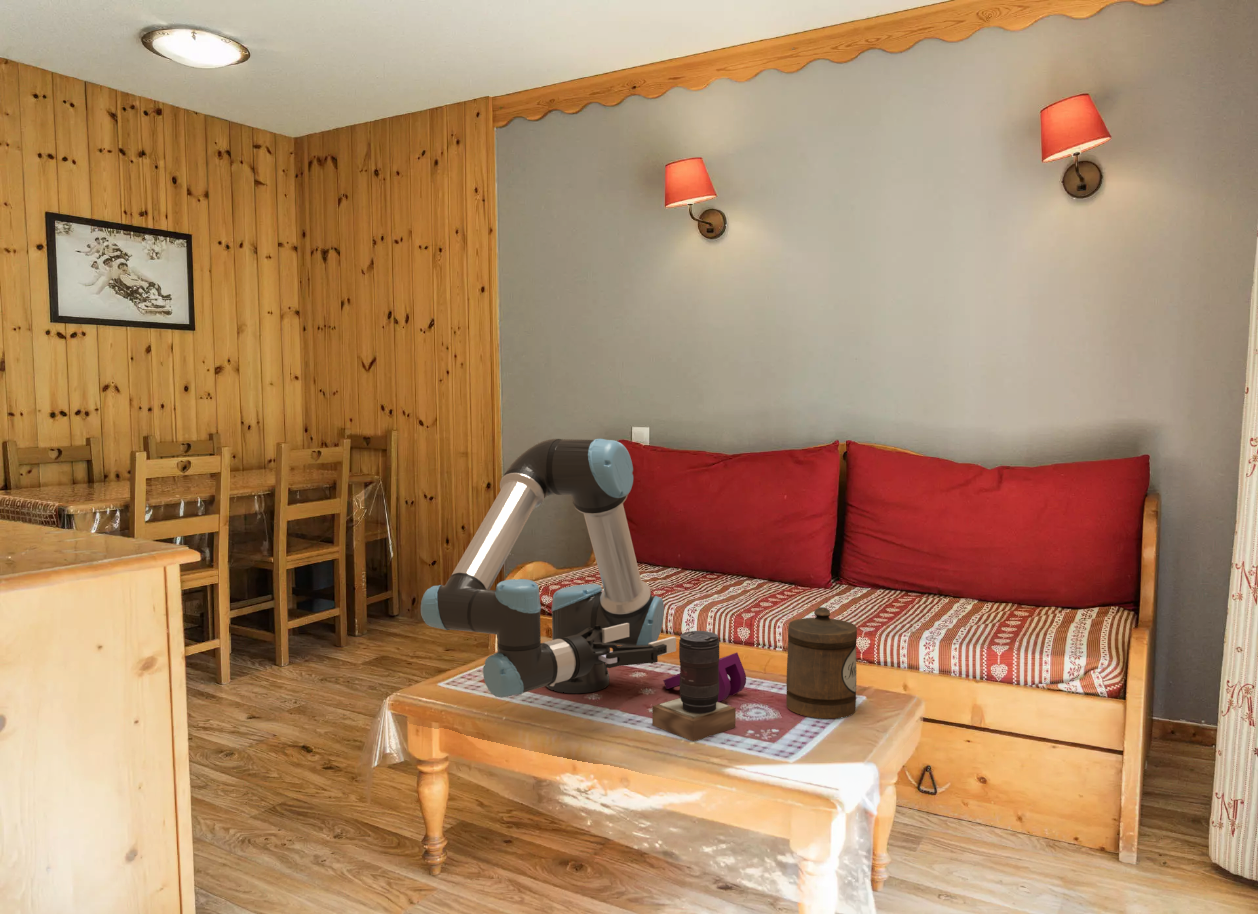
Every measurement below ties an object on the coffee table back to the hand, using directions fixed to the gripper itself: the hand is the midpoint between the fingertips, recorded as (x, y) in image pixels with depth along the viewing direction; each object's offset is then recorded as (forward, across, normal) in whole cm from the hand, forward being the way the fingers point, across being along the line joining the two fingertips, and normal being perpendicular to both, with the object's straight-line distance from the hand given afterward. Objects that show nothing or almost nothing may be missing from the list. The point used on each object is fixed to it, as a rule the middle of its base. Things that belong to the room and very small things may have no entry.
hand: (650, 636), depth 173 cm
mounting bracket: (+26, -12, -21) cm, 36 cm away
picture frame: (+10, +2, -20) cm, 23 cm away
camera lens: (+9, +4, -16) cm, 19 cm away
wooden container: (+39, +12, -21) cm, 46 cm away
